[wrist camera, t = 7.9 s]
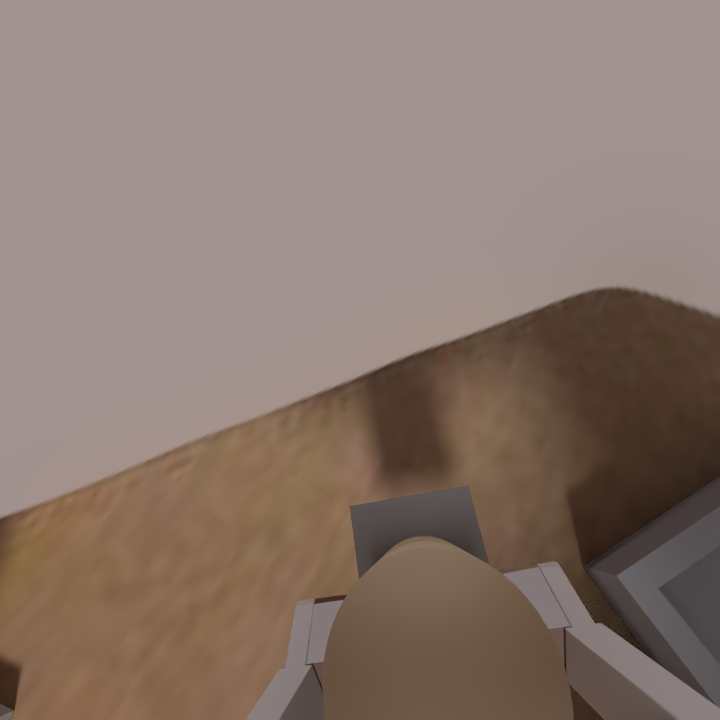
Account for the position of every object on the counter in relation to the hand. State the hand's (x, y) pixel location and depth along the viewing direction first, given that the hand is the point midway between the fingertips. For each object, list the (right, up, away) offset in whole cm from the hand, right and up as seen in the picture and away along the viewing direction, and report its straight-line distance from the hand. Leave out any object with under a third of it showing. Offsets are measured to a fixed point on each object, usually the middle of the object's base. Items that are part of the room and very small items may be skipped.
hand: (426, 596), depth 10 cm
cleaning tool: (+1, -3, +5) cm, 6 cm away
